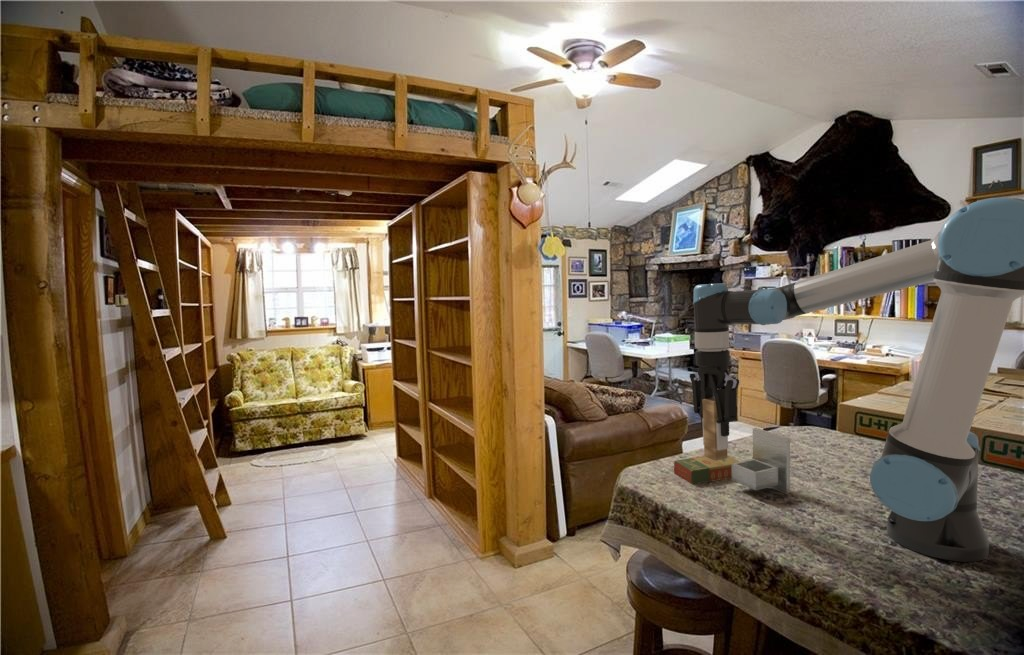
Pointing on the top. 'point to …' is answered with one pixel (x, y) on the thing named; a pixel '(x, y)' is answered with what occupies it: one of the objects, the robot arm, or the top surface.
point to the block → (711, 431)
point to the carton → (703, 469)
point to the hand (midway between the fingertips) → (715, 446)
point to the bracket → (765, 463)
